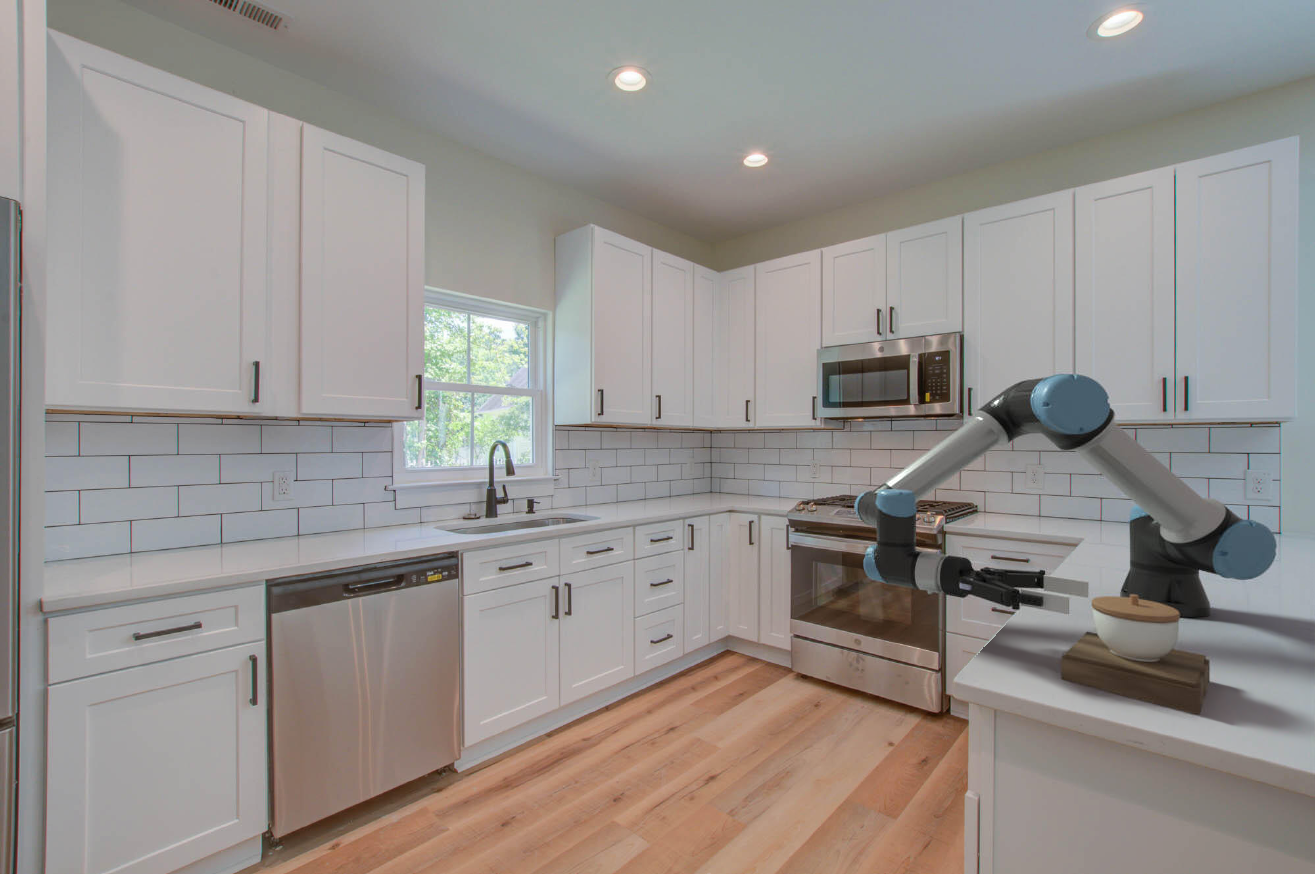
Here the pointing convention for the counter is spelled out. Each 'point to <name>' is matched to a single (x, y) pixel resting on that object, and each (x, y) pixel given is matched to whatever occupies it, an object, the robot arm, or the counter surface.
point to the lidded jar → (1136, 627)
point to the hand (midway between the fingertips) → (1079, 596)
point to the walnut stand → (1139, 674)
